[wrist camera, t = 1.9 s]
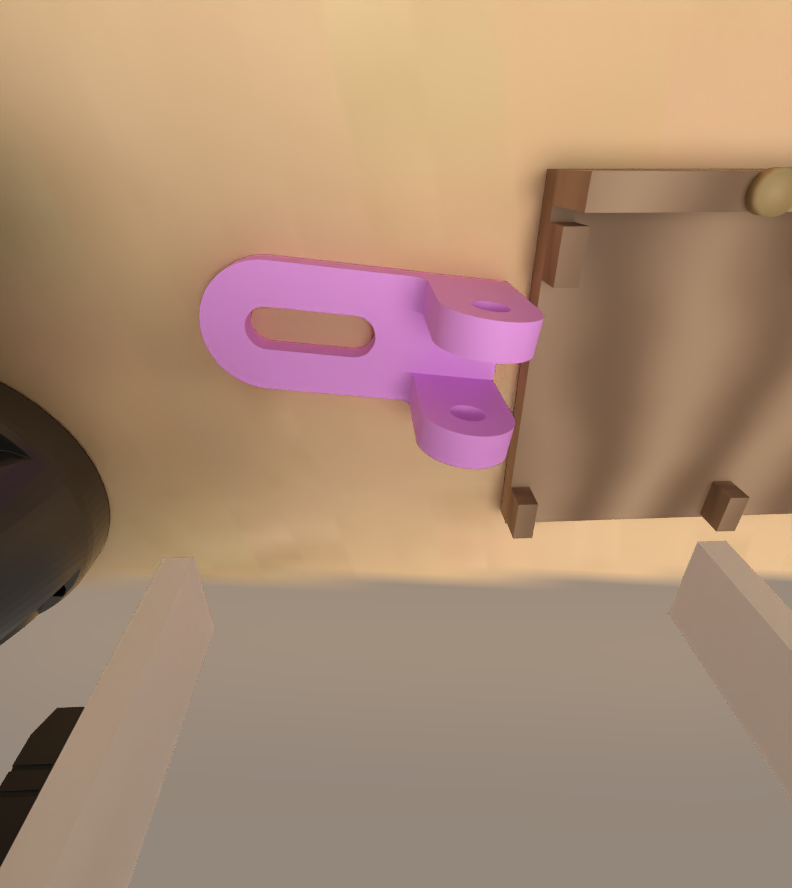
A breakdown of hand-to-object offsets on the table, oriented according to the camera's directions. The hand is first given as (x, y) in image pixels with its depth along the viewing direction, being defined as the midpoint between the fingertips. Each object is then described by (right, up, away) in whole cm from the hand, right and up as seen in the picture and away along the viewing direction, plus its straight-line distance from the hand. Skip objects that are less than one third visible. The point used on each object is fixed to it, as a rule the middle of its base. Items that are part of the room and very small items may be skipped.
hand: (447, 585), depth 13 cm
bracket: (-3, +9, +9) cm, 14 cm away
